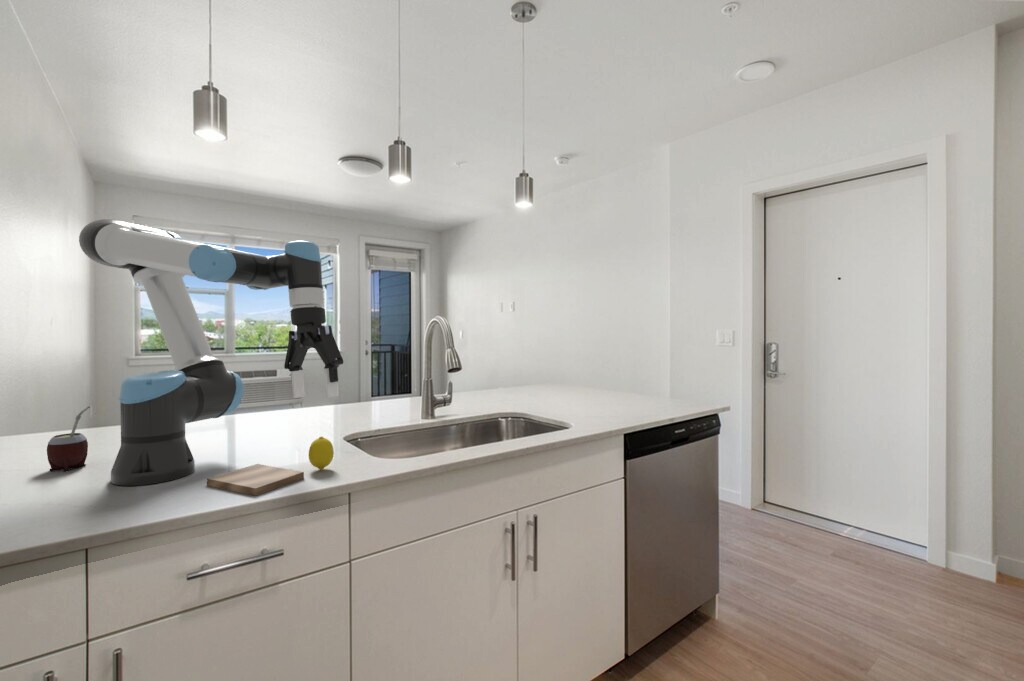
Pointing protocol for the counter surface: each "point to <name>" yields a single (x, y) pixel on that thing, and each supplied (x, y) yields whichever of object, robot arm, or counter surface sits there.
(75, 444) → the mate gourd
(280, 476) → the walnut board
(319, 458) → the lemon
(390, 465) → the counter surface
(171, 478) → the robot arm
